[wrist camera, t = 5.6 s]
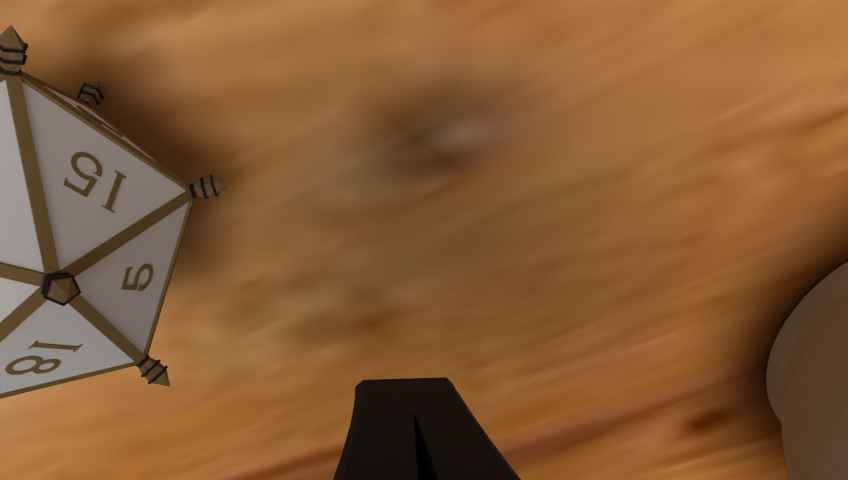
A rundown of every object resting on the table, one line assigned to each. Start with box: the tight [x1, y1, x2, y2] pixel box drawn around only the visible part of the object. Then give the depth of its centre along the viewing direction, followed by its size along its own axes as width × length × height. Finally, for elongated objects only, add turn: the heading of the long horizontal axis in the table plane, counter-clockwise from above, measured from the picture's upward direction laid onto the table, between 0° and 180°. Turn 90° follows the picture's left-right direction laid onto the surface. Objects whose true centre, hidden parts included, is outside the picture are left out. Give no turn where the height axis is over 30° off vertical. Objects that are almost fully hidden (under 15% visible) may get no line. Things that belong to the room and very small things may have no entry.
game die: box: [0, 25, 231, 399], centre depth 13 cm, size 9×8×10 cm
